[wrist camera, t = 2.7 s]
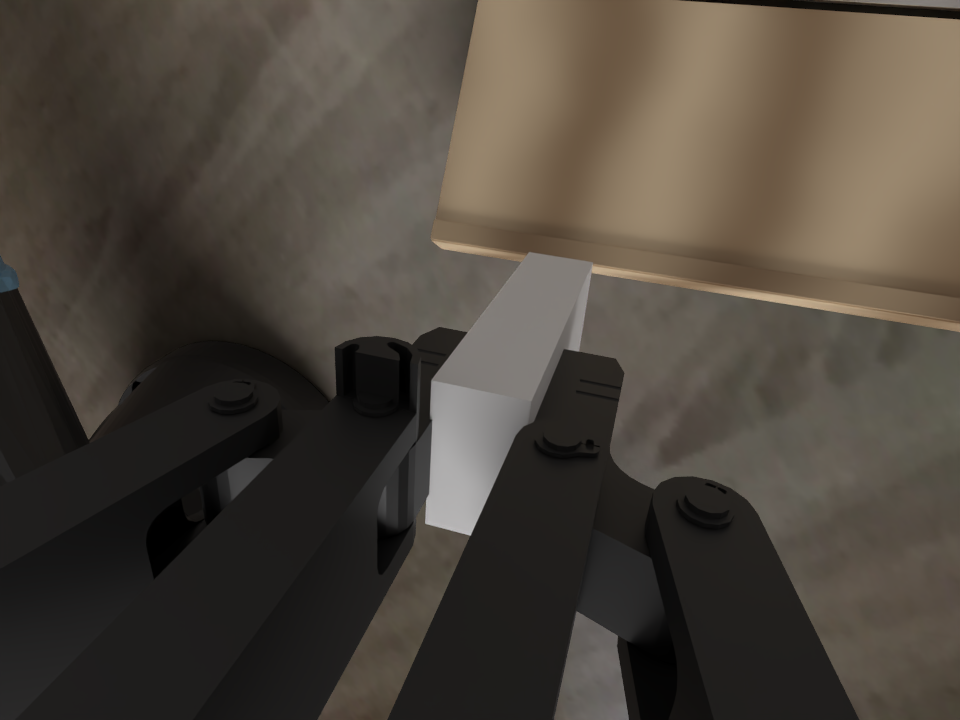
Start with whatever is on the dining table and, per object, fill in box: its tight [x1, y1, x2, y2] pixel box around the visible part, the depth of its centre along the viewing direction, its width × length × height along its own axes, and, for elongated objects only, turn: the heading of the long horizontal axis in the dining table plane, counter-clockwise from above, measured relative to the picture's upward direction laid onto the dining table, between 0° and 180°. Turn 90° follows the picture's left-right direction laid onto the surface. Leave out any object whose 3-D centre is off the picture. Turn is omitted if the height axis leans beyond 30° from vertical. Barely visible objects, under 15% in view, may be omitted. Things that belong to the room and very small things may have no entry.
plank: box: [431, 0, 960, 332], centre depth 22 cm, size 21×10×2 cm, turn 86°
